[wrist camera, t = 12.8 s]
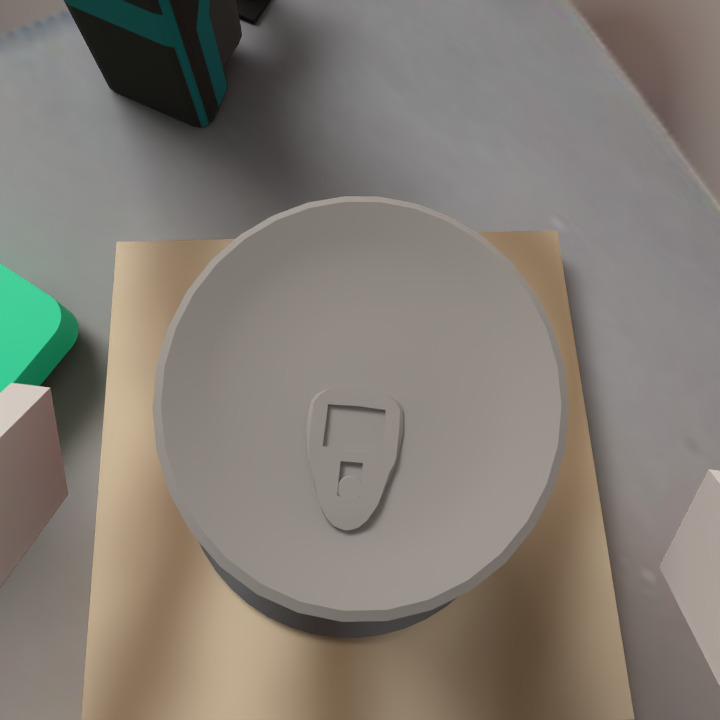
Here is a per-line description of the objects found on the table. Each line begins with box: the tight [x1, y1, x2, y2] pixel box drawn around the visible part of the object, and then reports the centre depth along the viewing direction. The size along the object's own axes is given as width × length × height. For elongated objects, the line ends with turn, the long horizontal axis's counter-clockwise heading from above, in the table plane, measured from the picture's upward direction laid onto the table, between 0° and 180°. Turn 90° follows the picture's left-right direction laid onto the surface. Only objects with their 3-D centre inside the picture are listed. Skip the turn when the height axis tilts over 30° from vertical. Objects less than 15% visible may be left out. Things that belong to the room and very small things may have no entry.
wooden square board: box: [81, 230, 634, 720], centre depth 22 cm, size 18×18×2 cm
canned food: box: [152, 196, 569, 622], centre depth 16 cm, size 8×8×11 cm
